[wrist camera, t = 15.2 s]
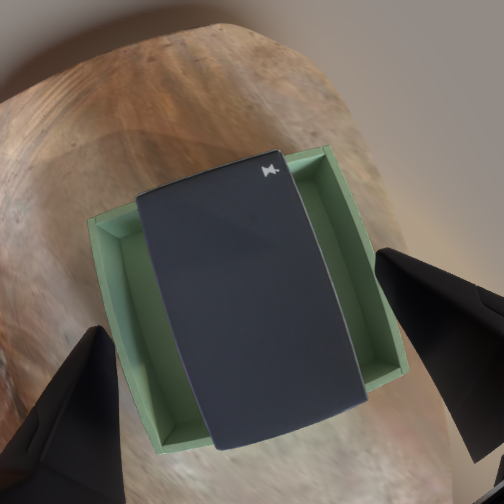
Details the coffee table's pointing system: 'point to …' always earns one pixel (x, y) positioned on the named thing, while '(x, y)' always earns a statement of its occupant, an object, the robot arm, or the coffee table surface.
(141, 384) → the basket
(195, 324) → the small box
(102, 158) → the coffee table surface
